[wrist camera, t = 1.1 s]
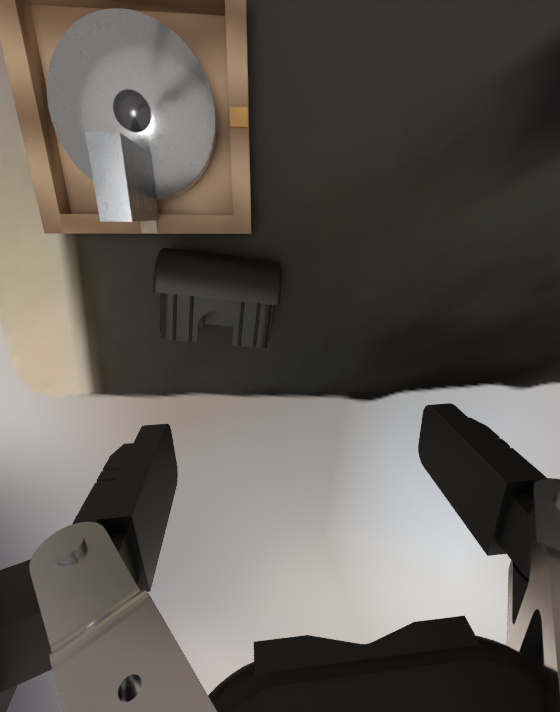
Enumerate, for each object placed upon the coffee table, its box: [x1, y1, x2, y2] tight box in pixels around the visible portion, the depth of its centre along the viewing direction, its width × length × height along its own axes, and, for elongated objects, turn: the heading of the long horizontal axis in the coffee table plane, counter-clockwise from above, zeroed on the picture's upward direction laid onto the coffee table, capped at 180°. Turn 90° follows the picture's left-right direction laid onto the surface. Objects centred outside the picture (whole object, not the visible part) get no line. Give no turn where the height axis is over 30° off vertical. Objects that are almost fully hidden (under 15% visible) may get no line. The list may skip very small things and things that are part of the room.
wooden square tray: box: [0, 0, 251, 234], centre depth 27 cm, size 16×16×4 cm
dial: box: [47, 8, 217, 222], centre depth 22 cm, size 13×11×9 cm
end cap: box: [153, 248, 282, 348], centre depth 31 cm, size 10×7×7 cm
